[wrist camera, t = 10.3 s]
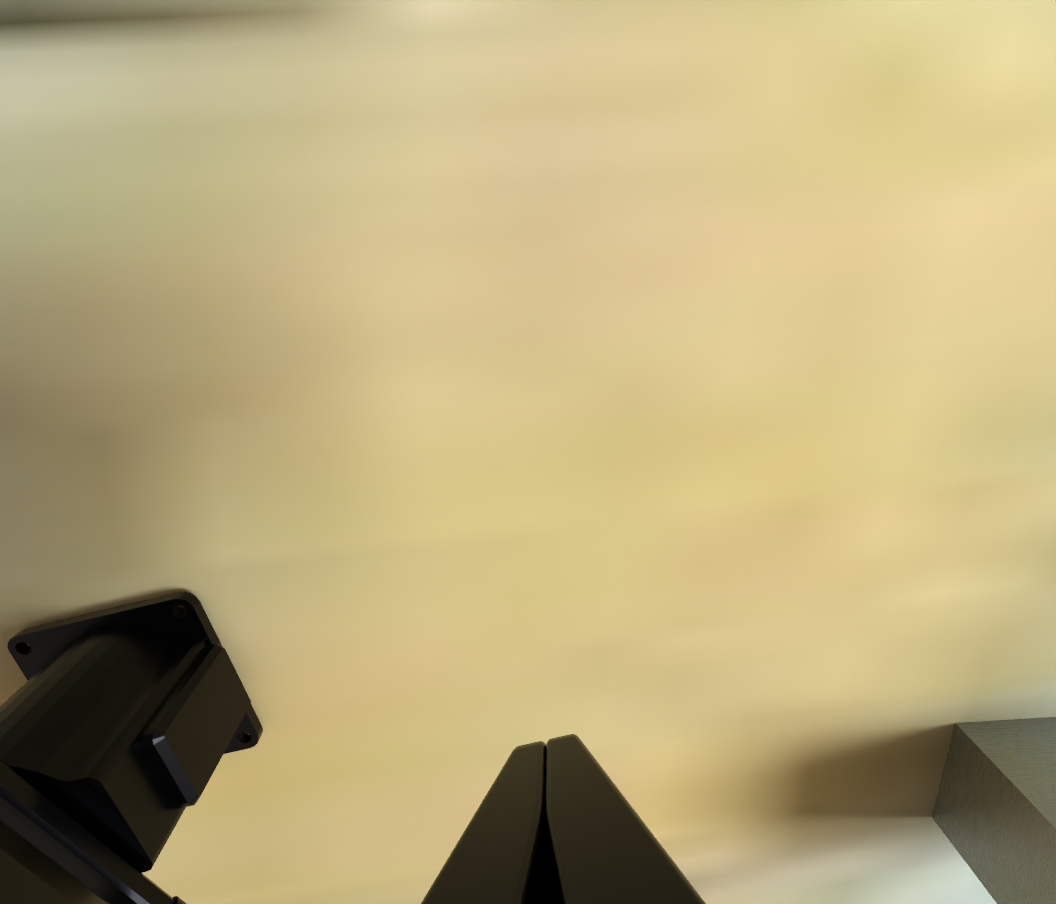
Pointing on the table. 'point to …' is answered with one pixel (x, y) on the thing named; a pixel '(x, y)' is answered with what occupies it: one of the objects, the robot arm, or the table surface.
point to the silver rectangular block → (1003, 806)
